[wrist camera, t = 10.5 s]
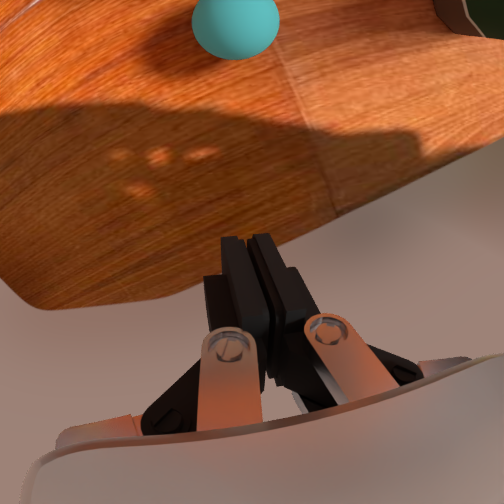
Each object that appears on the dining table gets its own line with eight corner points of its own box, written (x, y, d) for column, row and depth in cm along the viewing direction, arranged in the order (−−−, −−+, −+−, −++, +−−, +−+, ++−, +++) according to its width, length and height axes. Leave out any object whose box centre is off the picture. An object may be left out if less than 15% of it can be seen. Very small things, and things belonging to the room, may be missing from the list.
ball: (194, -27, 16) (183, 40, 21) (205, -12, 13) (190, 72, 18) (273, -18, 18) (255, 44, 23) (303, 2, 15) (278, 77, 20)
